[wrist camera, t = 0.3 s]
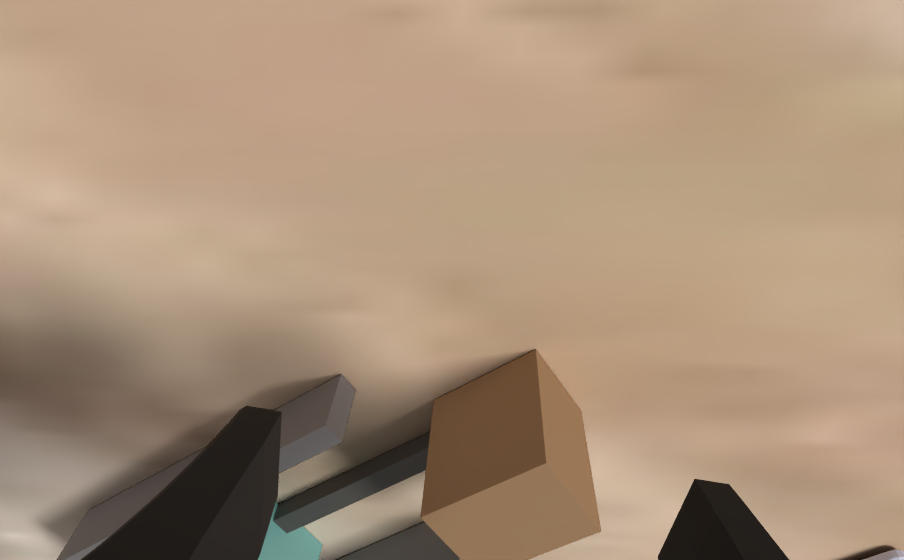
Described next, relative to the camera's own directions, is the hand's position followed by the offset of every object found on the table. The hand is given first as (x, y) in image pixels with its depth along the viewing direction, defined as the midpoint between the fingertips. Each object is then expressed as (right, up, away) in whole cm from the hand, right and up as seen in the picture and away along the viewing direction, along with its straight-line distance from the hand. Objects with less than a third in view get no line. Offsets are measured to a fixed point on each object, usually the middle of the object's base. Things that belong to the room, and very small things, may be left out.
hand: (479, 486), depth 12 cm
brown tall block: (-4, -4, +14) cm, 14 cm away
